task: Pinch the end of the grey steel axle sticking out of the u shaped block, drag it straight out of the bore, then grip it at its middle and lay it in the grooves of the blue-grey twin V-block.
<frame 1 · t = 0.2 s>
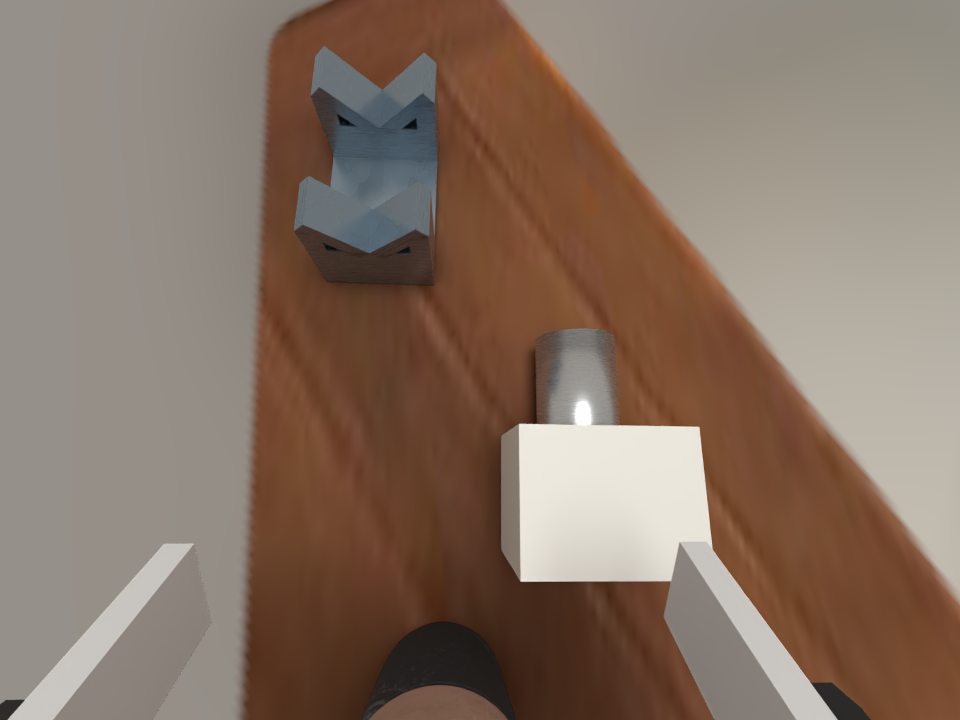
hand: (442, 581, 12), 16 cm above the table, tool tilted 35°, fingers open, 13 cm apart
travel mug: (440, 687, 26), on the table
u shaped block: (570, 491, 29), on the table
v block: (386, 207, 33), on the table
axle: (567, 422, 30), on the table
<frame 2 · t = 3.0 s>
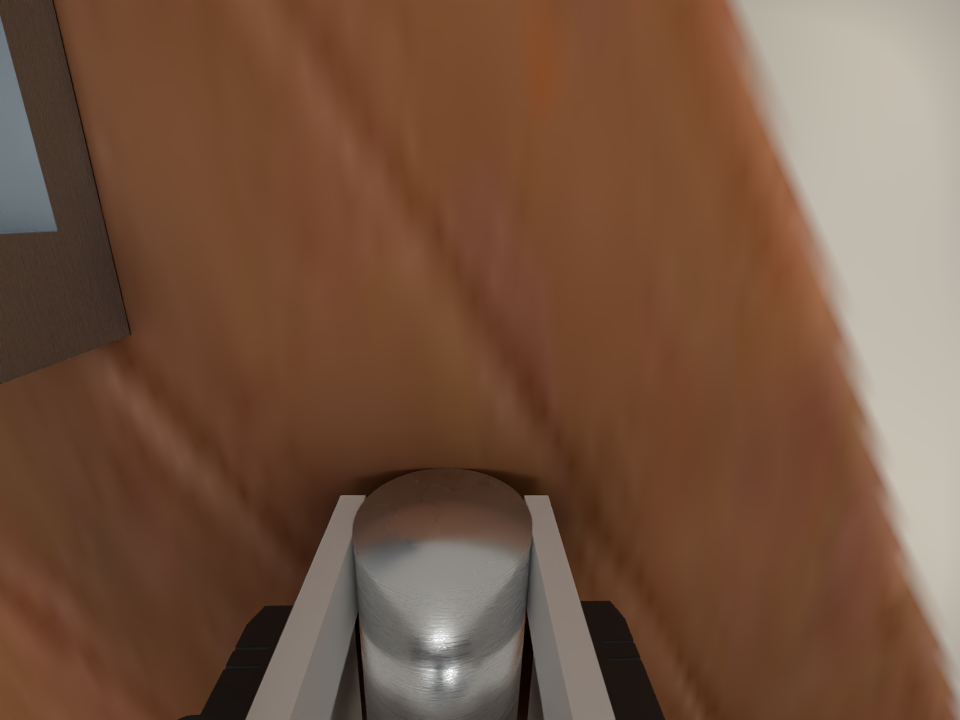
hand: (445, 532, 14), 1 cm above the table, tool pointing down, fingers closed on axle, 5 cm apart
u shaped block: (446, 672, 18), on the table
axle: (445, 584, 16), on the table, touching gripper
when the fingers open (1 cm above the table, at t = 5.3 s): axle moves 4 cm and tips over, point 3 cm above the table.
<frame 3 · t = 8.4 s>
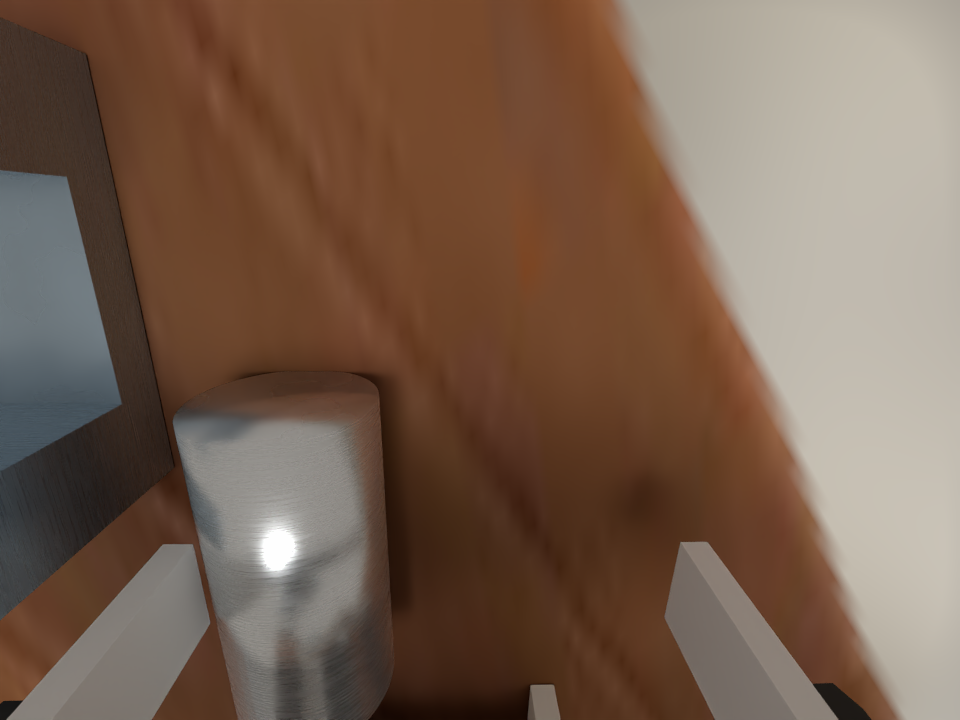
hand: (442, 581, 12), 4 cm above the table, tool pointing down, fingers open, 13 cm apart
v block: (5, 287, 13), on the table
axle: (368, 581, 12), point 3 cm above the table, tilted 119°
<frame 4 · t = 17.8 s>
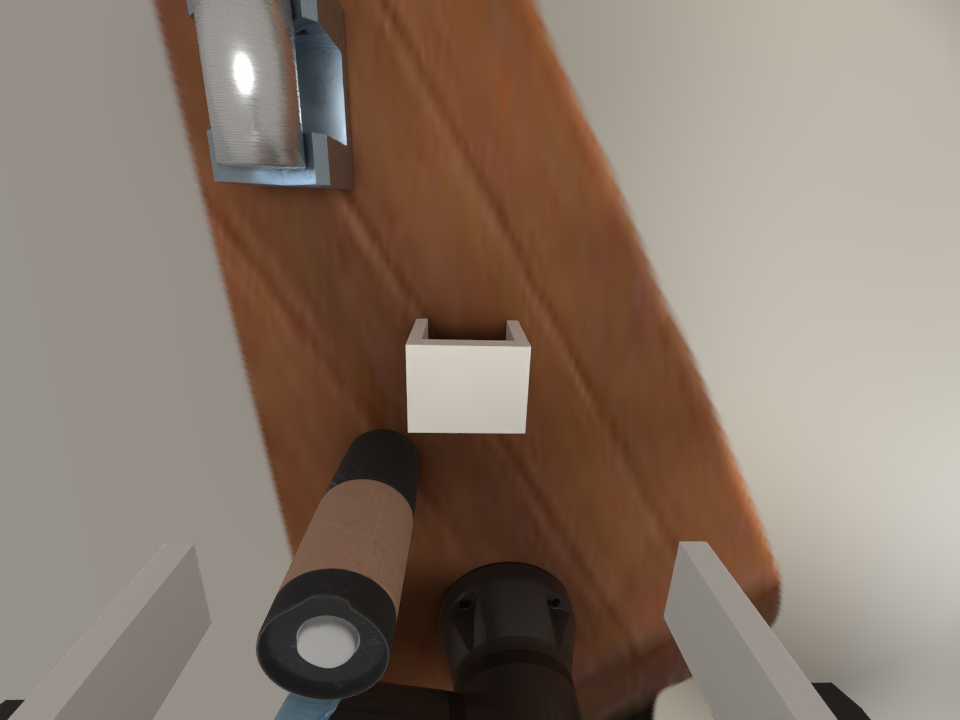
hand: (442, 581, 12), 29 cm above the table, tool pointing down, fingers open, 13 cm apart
travel mug: (383, 460, 44), on the table
u shaped block: (466, 356, 40), on the table
v block: (299, 103, 33), on the table
axle: (281, 84, 28), point 6 cm above the table, tilted 20°, touching v block
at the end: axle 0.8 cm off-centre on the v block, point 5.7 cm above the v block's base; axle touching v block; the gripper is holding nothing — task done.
